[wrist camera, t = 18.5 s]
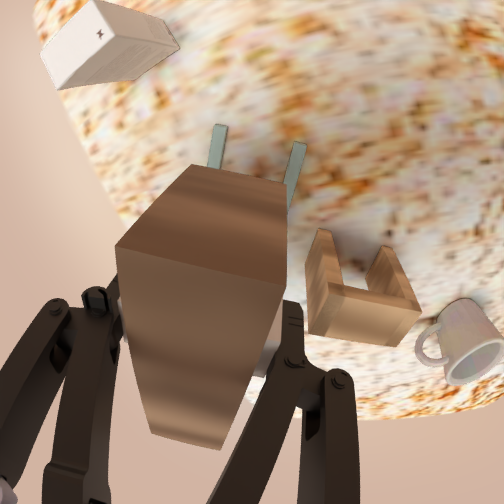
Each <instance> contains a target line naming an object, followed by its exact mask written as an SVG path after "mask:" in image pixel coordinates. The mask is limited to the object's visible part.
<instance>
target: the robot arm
mask: <svg viewBox="0 0 504 504" xmlns="http://www.w3.org/2000/svg"><path fill="white" fill-rule="evenodd" d="M81 297H82V301H83V305H84V308H76V307H69V305H68V303H67V302H66V301H65V300H64V299H60V298H55V299H52V300H50V301H48V302H47V303H46V304H45V305H44V306H43V308H42V309H41V310H40V312H39V313H38V314H37V316H36V317H35V319H34V320H33V321H32V323H31V324H30V326H29V327H28V328H27V330H26V331H25V333H24V334H23V336H22V337H21V339H20V340H19V342H18V343H17V345H16V346H15V348H14V349H13V351H12V353H11V354H10V356H9V358H8V359H7V361H6V362H5V364H4V365H3V367H2V369H1V370H0V504H16V503H17V500H18V499H17V496H16V494H15V493H14V492H13V488H14V487H15V486H16V484H17V483H18V481H19V480H20V478H21V475H22V473H23V471H24V469H25V466H26V463H27V461H28V458H29V456H30V453H31V450H32V448H33V445H34V443H35V441H36V438H37V436H38V433H39V431H40V429H41V426H42V424H43V422H44V420H45V417H46V415H47V413H48V411H49V409H50V406H51V404H52V402H53V400H54V398H55V396H56V394H57V392H58V390H59V388H60V386H61V384H62V382H63V380H64V378H65V381H64V386H63V390H62V395H61V400H60V405H59V410H58V417H57V422H56V428H55V435H54V443H53V451H52V458H51V461H50V462H49V463H48V464H47V465H46V466H45V469H44V473H43V483H42V504H111V493H110V488H109V485H108V458H109V440H110V426H111V415H112V405H113V396H114V387H115V380H116V373H117V366H118V360H119V354H120V340H121V338H122V336H123V337H124V342H126V343H128V339H127V334H126V329H125V323H124V317H123V311H122V304H121V297H120V290H119V282H118V274H116V276H115V277H114V279H113V280H112V281H111V283H110V284H109V286H108V287H107V288H106V289H105V288H104V287H100V286H94V287H91V288H88V289H86V290H85V291H84V292H83V294H82V295H81ZM303 320H304V316H303V310H302V308H301V306H300V304H299V303H297V302H292V301H288V300H283V297H282V300H281V302H280V305H279V308H278V311H277V313H276V316H275V319H274V321H273V324H272V326H271V329H270V332H269V334H268V337H267V340H266V342H265V345H264V347H263V350H262V352H261V355H260V357H259V360H258V363H257V365H256V368H255V370H254V373H253V375H252V376H257V377H262V378H264V377H265V375H266V381H265V383H264V385H263V387H262V389H261V391H260V393H259V396H258V399H257V401H256V403H255V405H254V408H253V410H252V412H251V414H250V417H249V419H248V421H247V423H246V425H245V427H244V429H243V432H242V434H241V436H240V438H239V440H238V442H237V444H236V446H235V448H234V450H233V452H232V454H231V457H230V459H229V461H228V463H227V465H226V466H225V468H224V471H223V472H222V475H221V476H220V478H219V480H218V482H217V484H216V486H215V488H214V490H213V492H212V494H211V495H210V498H209V499H208V501H207V503H206V504H258V503H259V501H260V499H261V496H262V494H263V492H264V489H265V487H266V485H267V482H268V480H269V477H270V475H271V473H272V470H273V468H274V465H275V463H276V460H277V457H278V455H279V452H280V450H281V447H282V444H283V442H284V439H285V436H286V433H287V431H288V428H289V425H290V422H291V419H292V416H293V413H294V411H295V408H296V406H297V407H299V408H301V409H302V435H301V455H300V471H299V485H298V498H297V504H360V466H359V465H360V463H359V442H358V426H357V413H356V401H355V391H354V382H353V379H352V377H351V376H350V374H349V373H347V372H346V371H345V370H342V369H339V368H336V369H331V370H329V371H328V372H326V371H324V370H322V369H320V368H317V367H316V366H314V365H312V364H311V363H310V362H309V361H308V359H307V357H306V355H305V351H304V328H303V327H304V321H303ZM65 376H66V377H65Z"/></svg>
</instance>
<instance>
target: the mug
mask: <svg viewBox="0 0 504 504" xmlns="http://www.w3.org/2000/svg"><path fill="white" fill-rule="evenodd" d="M436 331H437V334H438V339H439V344H440V349H441V354H442V358H440V359H432V358H429V357H427V356H426V355H425V354H424V353H423V350H422V346H423V343H424V341H425V339H426V338H427V337H428V336H429V335H430V334H432V333H434V332H436ZM415 353H416V357H417V358H418V359H419V361H420V362H421V363H422V364H424V365H426V366H428V367H440V366H444V372H445V379H446V381H447V383H448V384H449V385H453V386H458V385H464V384H467V383H470V382H472V381H474V380H476V379H478V378H480V377H482V376H483V375H485V374H486V373H487V372H489V371H490V370H491V369H492V368H493V367H494V366H495V365H496V364H497V363H498V362H499V361H500V360H501V358H502V357H503V355H504V338H503V336H502V335H501V334H500V332H499V331H498V330H497V329H496V327H495V326H494V325H493V324H492V322H491V321H490V320H489V319H488V317H487V316H486V315H485V314H484V313H483V311H482V310H481V309H480V308H479V307H478V305H477V304H476V303H475V302H474V301H472V300H471V299H466V298H464V299H459V300H457V301H455V302H453V303H451V304H450V305H448V306H447V307H446V308H445V309H444V310H443V311H442V312H441V313H440V315H439V317H438V319H437V322H436V324H434V325H432V326H430V327H429V328H427V329H426V330H425V331H423V332H422V333H421V334H420V335H419V337H418V339H417V340H416V344H415Z"/></svg>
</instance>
